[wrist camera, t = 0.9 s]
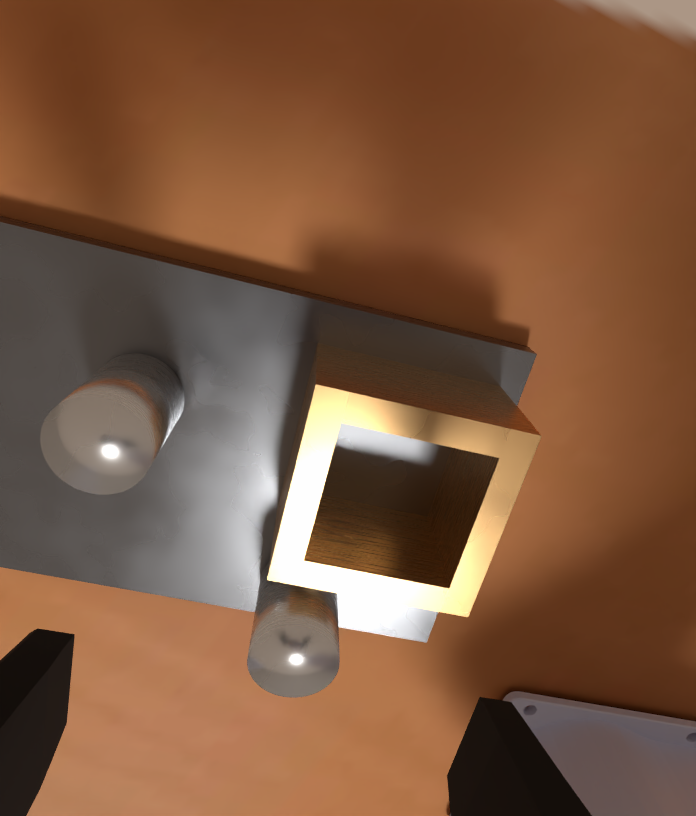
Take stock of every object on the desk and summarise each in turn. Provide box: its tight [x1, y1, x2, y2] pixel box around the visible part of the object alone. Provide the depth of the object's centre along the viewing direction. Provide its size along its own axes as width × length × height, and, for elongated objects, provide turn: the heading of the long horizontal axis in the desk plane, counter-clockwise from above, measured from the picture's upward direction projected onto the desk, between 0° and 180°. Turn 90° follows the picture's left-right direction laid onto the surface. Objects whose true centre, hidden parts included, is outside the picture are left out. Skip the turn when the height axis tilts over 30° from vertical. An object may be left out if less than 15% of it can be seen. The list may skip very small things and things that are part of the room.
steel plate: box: [0, 216, 537, 643], centre depth 19 cm, size 16×11×1 cm
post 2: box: [247, 562, 339, 697], centre depth 18 cm, size 3×3×4 cm
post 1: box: [40, 353, 184, 495], centre depth 16 cm, size 3×3×4 cm
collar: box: [267, 343, 541, 617], centre depth 17 cm, size 6×6×4 cm
